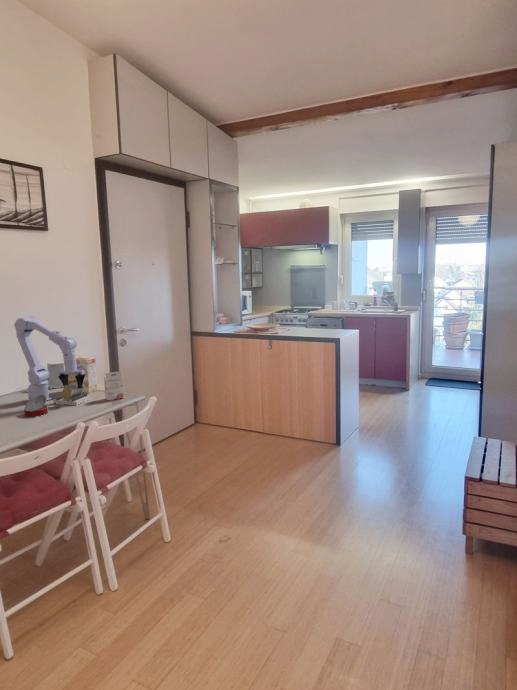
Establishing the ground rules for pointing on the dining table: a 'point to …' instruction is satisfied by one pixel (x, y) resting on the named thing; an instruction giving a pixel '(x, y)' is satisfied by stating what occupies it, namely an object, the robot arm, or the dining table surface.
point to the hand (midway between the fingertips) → (73, 388)
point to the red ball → (36, 407)
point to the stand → (72, 400)
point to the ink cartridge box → (113, 386)
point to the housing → (72, 391)
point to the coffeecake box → (86, 373)
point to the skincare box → (55, 374)
